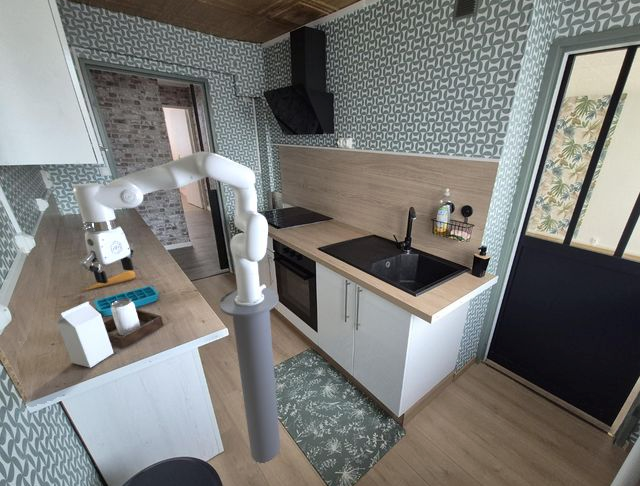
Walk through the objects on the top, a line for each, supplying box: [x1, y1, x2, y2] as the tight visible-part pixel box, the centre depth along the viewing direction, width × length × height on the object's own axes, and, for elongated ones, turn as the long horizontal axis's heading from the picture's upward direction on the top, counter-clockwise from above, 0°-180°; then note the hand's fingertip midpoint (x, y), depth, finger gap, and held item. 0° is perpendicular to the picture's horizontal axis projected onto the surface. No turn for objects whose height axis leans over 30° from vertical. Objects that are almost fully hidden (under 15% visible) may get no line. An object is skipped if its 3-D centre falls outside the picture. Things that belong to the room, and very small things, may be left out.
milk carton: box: [56, 301, 114, 369], centre depth 90 cm, size 7×7×19 cm
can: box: [111, 299, 141, 336], centre depth 104 cm, size 6×6×12 cm
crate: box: [103, 308, 164, 349], centre depth 106 cm, size 15×15×4 cm
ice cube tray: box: [93, 285, 160, 317], centre depth 123 cm, size 12×20×3 cm, turn 139°
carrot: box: [82, 270, 137, 292], centre depth 137 cm, size 20×4×4 cm, turn 143°
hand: (116, 276), depth 95 cm, fingers open, 9 cm apart
